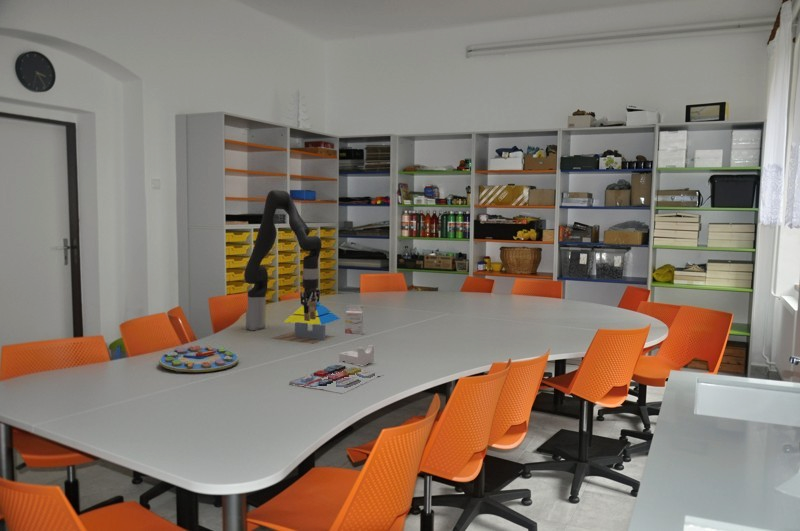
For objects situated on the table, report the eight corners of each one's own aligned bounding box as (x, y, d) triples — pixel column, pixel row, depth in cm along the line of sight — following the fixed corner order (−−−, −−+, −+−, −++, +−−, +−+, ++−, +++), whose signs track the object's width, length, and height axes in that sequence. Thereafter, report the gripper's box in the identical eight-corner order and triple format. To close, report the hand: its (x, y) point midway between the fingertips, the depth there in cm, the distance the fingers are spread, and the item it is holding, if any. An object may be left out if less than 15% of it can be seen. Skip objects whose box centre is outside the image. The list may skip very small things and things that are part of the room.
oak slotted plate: (304, 320, 309) (304, 301, 308) (311, 318, 314) (311, 300, 314) (308, 321, 308) (308, 302, 307) (315, 319, 313) (315, 300, 313)
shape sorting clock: (164, 378, 239) (164, 362, 239) (154, 360, 266) (154, 346, 265) (247, 370, 253) (247, 355, 253) (229, 354, 280) (229, 340, 280)
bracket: (373, 363, 268) (373, 345, 267) (362, 366, 262) (362, 348, 262) (350, 358, 276) (350, 341, 275) (339, 361, 270) (339, 344, 270)
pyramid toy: (321, 326, 351) (322, 300, 350) (281, 323, 360) (281, 297, 359) (341, 320, 375) (341, 295, 374) (303, 316, 383) (303, 292, 382)
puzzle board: (342, 395, 222) (342, 388, 222) (288, 386, 233) (288, 379, 233) (384, 376, 250) (384, 369, 249) (334, 368, 260) (334, 362, 260)
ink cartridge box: (344, 334, 327) (344, 306, 326) (346, 333, 332) (346, 304, 331) (361, 335, 326) (361, 306, 325) (362, 333, 331) (363, 305, 330)
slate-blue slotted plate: (294, 336, 314) (294, 322, 313) (297, 336, 316) (297, 322, 315) (323, 340, 307) (323, 325, 307) (325, 339, 309) (325, 325, 309)
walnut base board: (270, 340, 309) (270, 338, 309) (293, 333, 327) (293, 331, 327) (312, 345, 299) (312, 343, 299) (334, 338, 318) (334, 336, 317)
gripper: (311, 276, 317) (311, 309, 319) (295, 278, 304) (295, 313, 306) (325, 277, 314) (324, 311, 316) (308, 279, 301) (308, 315, 303)
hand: (310, 312), depth 311 cm, fingers closed on oak slotted plate, 6 cm apart
